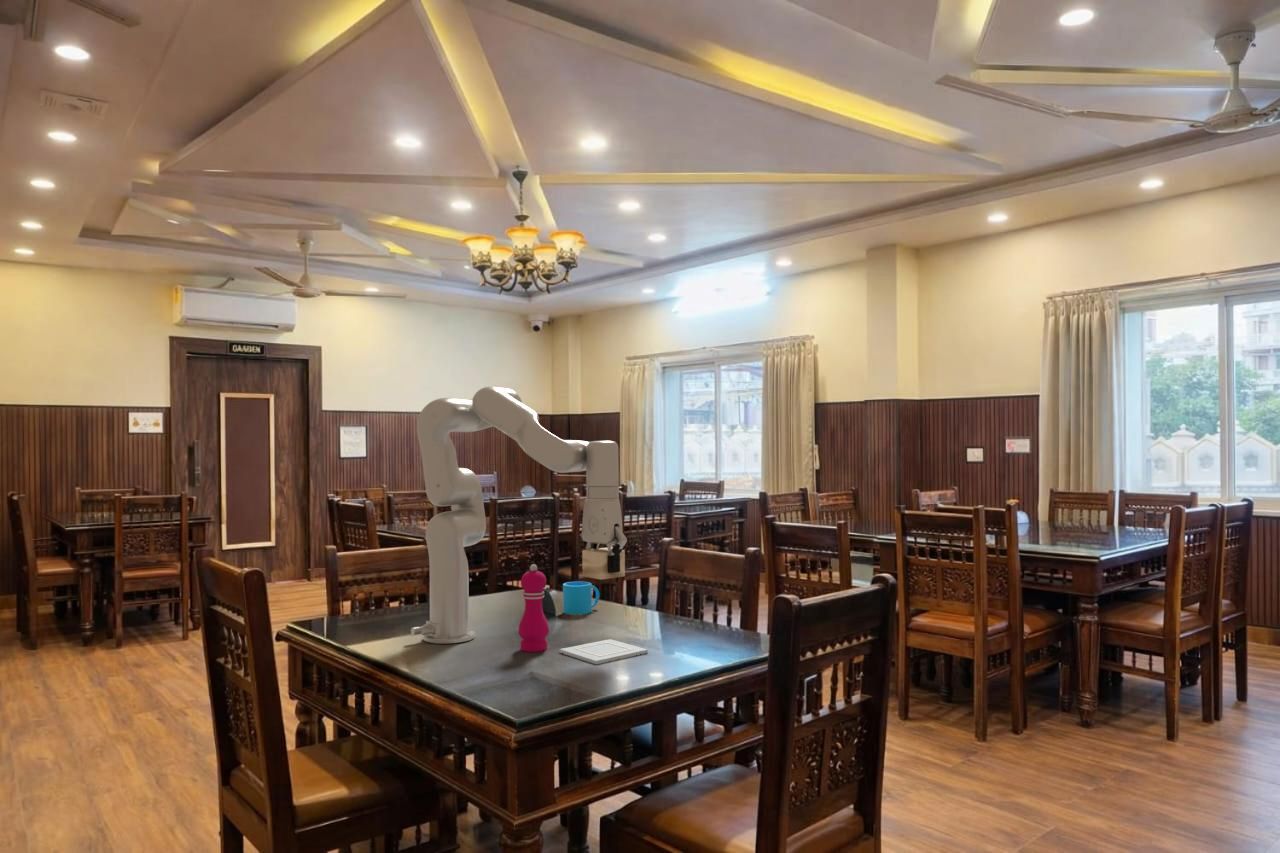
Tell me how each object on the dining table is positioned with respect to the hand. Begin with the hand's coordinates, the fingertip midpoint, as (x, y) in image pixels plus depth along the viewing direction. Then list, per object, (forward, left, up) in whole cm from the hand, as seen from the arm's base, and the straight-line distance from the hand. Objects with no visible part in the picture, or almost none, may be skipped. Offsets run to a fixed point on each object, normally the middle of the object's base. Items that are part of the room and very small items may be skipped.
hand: (603, 570), depth 196 cm
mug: (+25, +42, -19) cm, 53 cm away
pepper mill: (-10, +14, -19) cm, 26 cm away
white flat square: (0, 0, -19) cm, 19 cm away
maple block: (0, 0, -1) cm, 1 cm away
